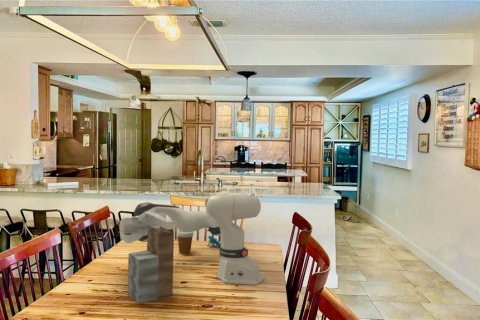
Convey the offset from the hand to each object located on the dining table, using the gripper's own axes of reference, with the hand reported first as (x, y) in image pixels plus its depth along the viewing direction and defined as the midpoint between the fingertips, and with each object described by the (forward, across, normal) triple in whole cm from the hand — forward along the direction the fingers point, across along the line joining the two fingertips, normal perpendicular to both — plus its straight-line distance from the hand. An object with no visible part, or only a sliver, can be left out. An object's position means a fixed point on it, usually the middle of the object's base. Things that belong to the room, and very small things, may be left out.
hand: (150, 215), depth 159 cm
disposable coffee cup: (-45, -38, -10) cm, 60 cm away
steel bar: (+5, 0, -6) cm, 8 cm away
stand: (-7, +3, -32) cm, 32 cm away
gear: (-46, -59, -10) cm, 75 cm away
